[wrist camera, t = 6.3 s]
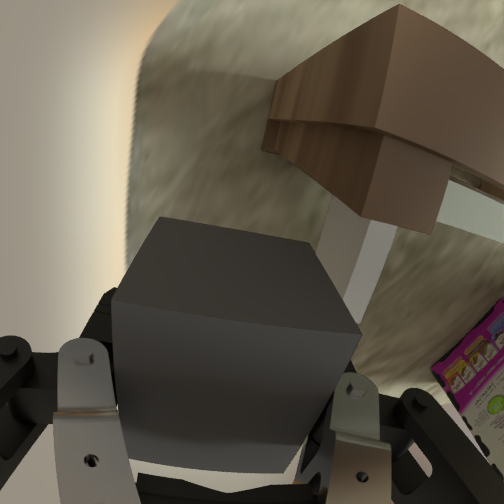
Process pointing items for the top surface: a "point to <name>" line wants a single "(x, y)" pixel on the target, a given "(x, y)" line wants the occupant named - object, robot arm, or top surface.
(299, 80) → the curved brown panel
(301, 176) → the top surface
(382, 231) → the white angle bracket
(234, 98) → the top surface
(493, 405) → the candy bar box
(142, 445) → the block
